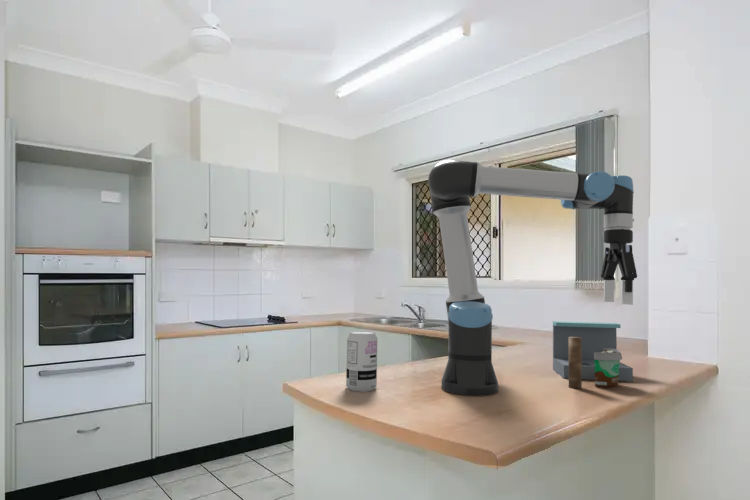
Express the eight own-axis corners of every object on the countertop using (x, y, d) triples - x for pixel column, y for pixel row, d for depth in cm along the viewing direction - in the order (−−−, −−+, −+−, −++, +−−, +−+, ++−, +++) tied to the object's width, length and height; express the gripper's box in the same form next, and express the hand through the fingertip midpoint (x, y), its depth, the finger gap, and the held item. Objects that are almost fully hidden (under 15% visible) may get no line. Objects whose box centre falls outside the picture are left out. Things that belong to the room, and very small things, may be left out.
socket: (563, 378, 148) (563, 325, 149) (552, 369, 162) (552, 321, 162) (632, 381, 145) (632, 327, 146) (615, 372, 159) (615, 323, 160)
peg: (570, 388, 134) (570, 337, 135) (567, 385, 138) (567, 336, 138) (583, 389, 134) (583, 338, 135) (579, 386, 137) (579, 336, 138)
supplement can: (350, 384, 134) (351, 330, 135) (379, 386, 133) (380, 331, 133) (342, 391, 126) (343, 333, 127) (373, 393, 125) (374, 334, 125)
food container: (617, 391, 132) (617, 354, 133) (593, 387, 136) (593, 352, 136) (626, 383, 142) (626, 349, 142) (603, 380, 146) (603, 347, 146)
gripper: (651, 225, 127) (650, 306, 126) (615, 233, 151) (614, 301, 150) (621, 224, 128) (620, 305, 127) (590, 233, 152) (589, 300, 151)
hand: (617, 303), depth 138 cm, fingers open, 13 cm apart
